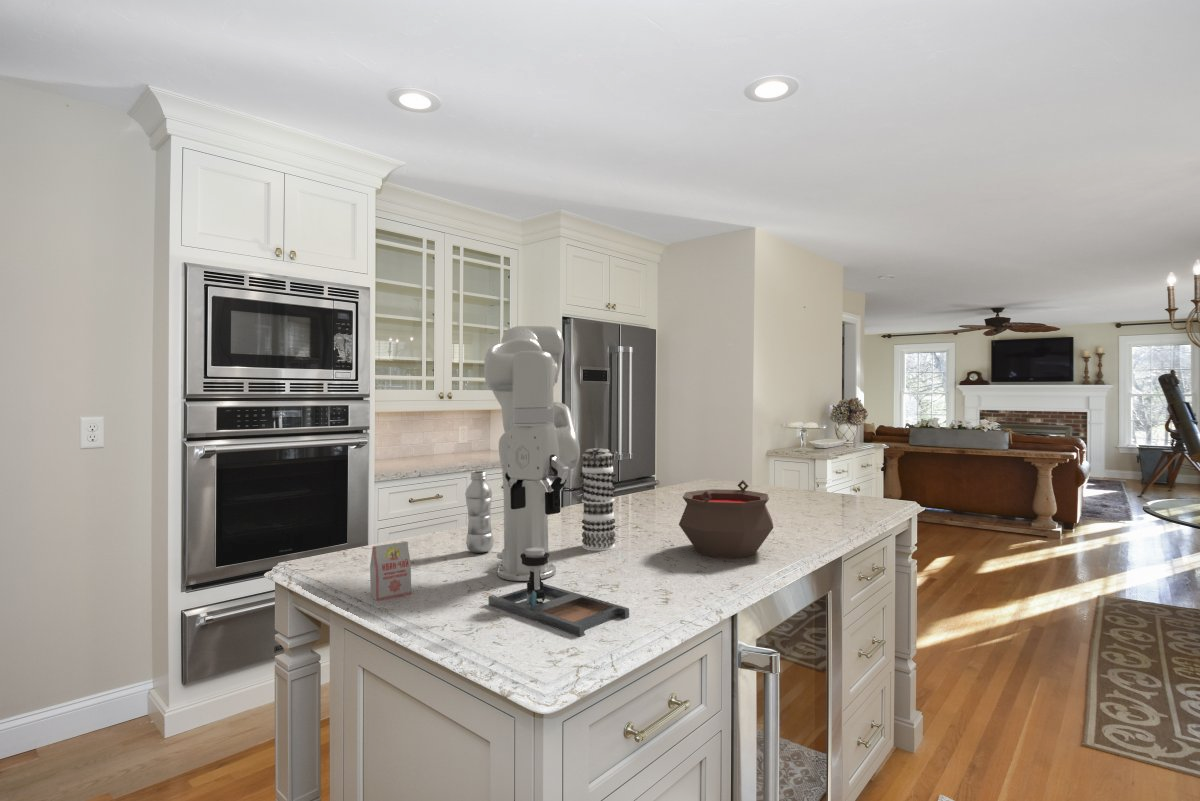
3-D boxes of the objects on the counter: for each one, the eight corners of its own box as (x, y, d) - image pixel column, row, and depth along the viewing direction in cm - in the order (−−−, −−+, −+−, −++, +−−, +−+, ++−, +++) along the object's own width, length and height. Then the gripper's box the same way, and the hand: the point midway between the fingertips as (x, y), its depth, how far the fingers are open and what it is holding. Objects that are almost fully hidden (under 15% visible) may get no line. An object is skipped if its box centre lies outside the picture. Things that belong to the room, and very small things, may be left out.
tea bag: (370, 596, 123) (369, 544, 123) (404, 589, 127) (404, 539, 127) (376, 600, 120) (375, 548, 120) (411, 593, 124) (410, 543, 124)
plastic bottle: (491, 555, 154) (489, 473, 154) (463, 555, 154) (462, 473, 154) (495, 548, 161) (494, 470, 161) (469, 549, 161) (468, 470, 161)
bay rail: (488, 604, 117) (488, 596, 117) (537, 589, 126) (537, 582, 126) (579, 636, 101) (579, 627, 101) (629, 616, 109) (629, 608, 109)
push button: (554, 607, 115) (554, 552, 115) (525, 611, 113) (525, 555, 113) (545, 597, 121) (545, 545, 121) (518, 600, 119) (517, 547, 119)
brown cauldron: (704, 536, 172) (703, 476, 172) (791, 547, 158) (790, 482, 158) (659, 554, 152) (658, 487, 152) (754, 569, 138) (753, 494, 138)
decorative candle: (589, 552, 155) (587, 451, 155) (575, 545, 164) (574, 448, 164) (622, 548, 159) (621, 449, 159) (607, 541, 167) (606, 447, 167)
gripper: (488, 418, 120) (490, 509, 120) (549, 418, 108) (551, 518, 108) (519, 417, 125) (520, 504, 125) (580, 417, 113) (582, 513, 113)
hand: (535, 510), depth 116 cm, fingers open, 9 cm apart
